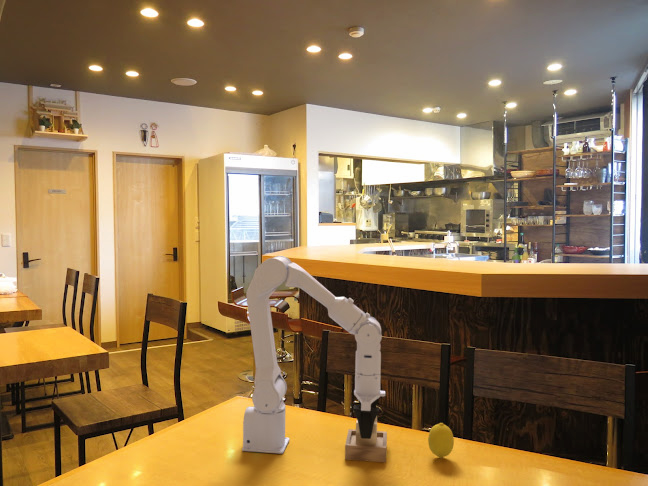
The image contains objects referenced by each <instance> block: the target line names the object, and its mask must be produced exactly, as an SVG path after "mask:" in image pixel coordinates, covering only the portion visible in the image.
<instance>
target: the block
mask: <svg viewBox="0 0 648 486" xmlns="http://www.w3.org/2000/svg"><path fill="white" fill-rule="evenodd" d="M355 430H356V444H359V445H373V446H376V441H377V431H378V416H376V418H375V421H374V425H373V431H372V435H371V439H364V438H361V435H360V430H359V424H358V420H357V419H356V423H355Z"/></svg>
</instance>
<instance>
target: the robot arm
mask: <svg viewBox="0 0 648 486" xmlns="http://www.w3.org/2000/svg"><path fill="white" fill-rule="evenodd" d="M284 283H285V285H284V286H285V287H291V288H299V289H301V290H302V291H304V293H307V294H308V295H309V297H312V298H313V299H315V300H316V301H317V302H318V303H320V304H321V305H323V306H324V307H325V308H326V309H327V312H328V313H327V315H328V317H329V318H330V319H331V320H333V321H334V322H335V323H336V324H338V325H339V326H340V327H341V328H342V329H344V330H345V331H346V332H348V333H349V334H351V335H354V339H355V341H356V350H355V367H354V368H355V369H354V371H355V372H354V375H355V376H354V390H353V395H354V397H356V399H357V400H358V401H357V402H358V403H359V404H354V405H353V408H352V409H353V410H352V411H353V413H354V415H355V417H356V421H357V420H358V424H359V430H360V435H361V438H364V439H371V435H372V431H373V425H374V421H375V418H376V417H378V415H379V412H380V408H379V407H377V405H378V402H379V401H380V398H381V397H386V391H385V390H381V374H382V373H381V366H382V364H381V363H382V352H381V341H382V338H383V335H382V326H381V323H380V322H379V321H378V320H377V318H376V317H373V316H371V313H368V312H366V313H365V311H363V310H362V309H361V308H360V307H358V306H357V305H356V304H354V301H355V300H354V299H352V298H351V297H349V298H347V297H345V296H335V295H334V294H333V293H332V292H331V291H329V290H328V289H327V288H326V287H325V286H324V285H323V284H322V283H321V282H319V281H318V280H317V279H316V278H315V277H314V276H312V275H311V274H310V273H309V272H308V271H307V270H305V269H304V268H303V267H302V266H300V265H299V264H297V263H296V262H292V261H291V259H289V257H287V256H284V255H277V256H274V257H270V258H267V259H265V260H264V261H263V262H261V263H260V264H259V265H258V267H256V268H255V270H254V274H253V277H252V279H251V281H250V283H249V285H248V288H247V290H246V292H245V294H246V303H247V311H248V317H249V318H248V319H249V327H250V333H251V341H252V348H253V357H254V364H255V373H254V382H253V383H254V391H253V393H252V397H251V399H252V404H253V406H247V407H246V408H245V411H244V415H243V421H242V423H243V424H242V428H243V429H242V433H243V434H242V449H241V450H242V452H255V453H266V454H267V453H268V454H269V453H270V454H280V455H281V454H284V452H285V451H286V448H287V446H288V444H289V442H290V437H286V404H285V402H284V400H283V397H284V396H285V395H286V393H287V390H288V385H287V381H285V379H284V377H283V375H282V371H281V370H282V369H281V368H280V366H279V364H278V358H277V350H276V343H275V335H274V328H273V327H274V326H273V320H272V312H271V304H270V297H271V296H272V295H273V293H274V292H275V291H276V290H277V288H279V286H281V285H282V284H284Z"/></svg>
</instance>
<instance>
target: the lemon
mask: <svg viewBox="0 0 648 486" xmlns="http://www.w3.org/2000/svg"><path fill="white" fill-rule="evenodd" d="M427 441H428V442H427V443H428V446H429V447H428V448H429V450H430V451H431V453H432V454H434V455H435V456H436V457H438V458H439V459H443V458H444V457H447V456H449V455H450V454H451V453H452V451H453V449H454V441H455V440H454V434H453V431H452V429H451V428H450V427H449V426H447V425H446V424H444V423H443V422H439V423H437V424H435V425H433V426H432V427H431V429H430V431H429V433H428V437H427Z"/></svg>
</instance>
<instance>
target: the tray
mask: <svg viewBox="0 0 648 486" xmlns="http://www.w3.org/2000/svg"><path fill="white" fill-rule="evenodd" d="M387 434H388V431H382V430H381V431H378V430H377V441H376V446H373V445H359V444H356V429H351V428H349V429H348V430H347V436H346V440H345V445H344V460H351V461H359V462H360V461H361V462H374V463H376V462H377V463H387V447H388V445H387V443H388V442H387V441H388V440H387V439H388V436H387Z"/></svg>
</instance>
